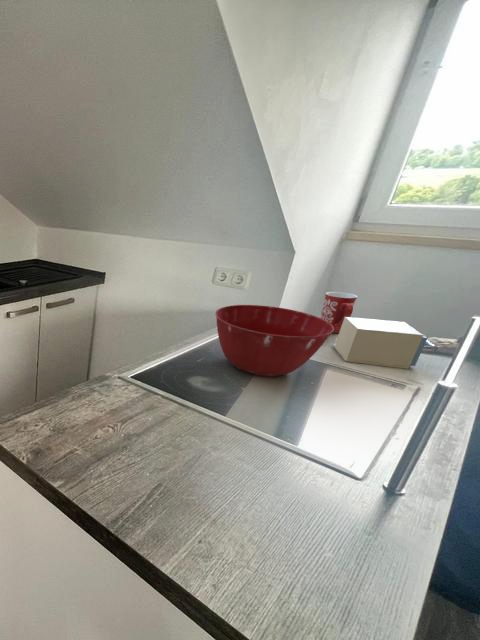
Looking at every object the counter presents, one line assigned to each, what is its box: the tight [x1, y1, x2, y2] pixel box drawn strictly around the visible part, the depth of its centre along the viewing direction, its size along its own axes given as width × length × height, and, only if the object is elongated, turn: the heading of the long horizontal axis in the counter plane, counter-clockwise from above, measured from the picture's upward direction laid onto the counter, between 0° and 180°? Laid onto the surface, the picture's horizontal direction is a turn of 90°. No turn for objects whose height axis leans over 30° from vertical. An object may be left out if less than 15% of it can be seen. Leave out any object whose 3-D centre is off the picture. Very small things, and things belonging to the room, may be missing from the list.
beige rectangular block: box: [334, 316, 424, 370], centre depth 119 cm, size 15×13×11 cm
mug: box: [319, 291, 359, 334], centre depth 140 cm, size 13×9×14 cm
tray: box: [409, 334, 439, 367], centre depth 118 cm, size 18×11×9 cm, turn 65°
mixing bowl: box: [214, 304, 334, 377], centre depth 114 cm, size 28×28×16 cm
